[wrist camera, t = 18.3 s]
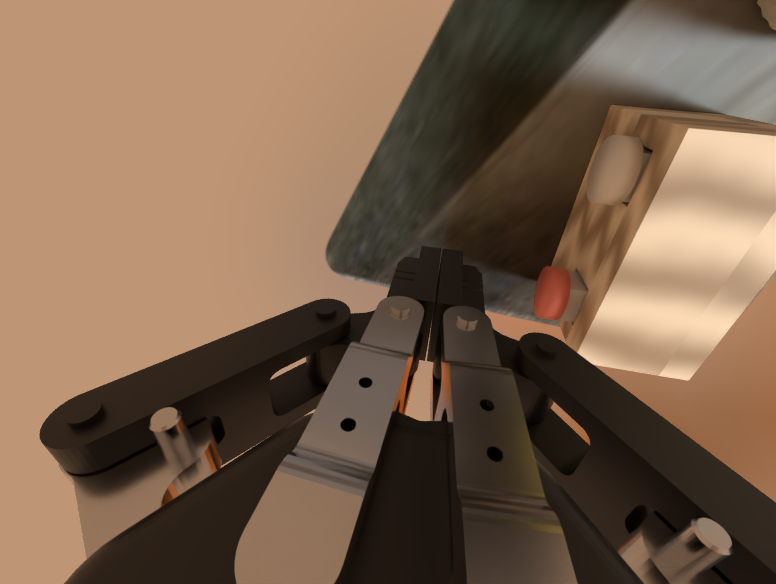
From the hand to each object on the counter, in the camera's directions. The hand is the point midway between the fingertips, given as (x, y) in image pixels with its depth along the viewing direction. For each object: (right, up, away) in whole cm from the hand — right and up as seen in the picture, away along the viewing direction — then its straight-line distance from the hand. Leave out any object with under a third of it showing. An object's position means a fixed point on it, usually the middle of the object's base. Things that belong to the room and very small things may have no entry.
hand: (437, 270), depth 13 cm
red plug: (+18, 0, +24) cm, 30 cm away
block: (+23, +8, +25) cm, 35 cm away
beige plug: (+20, +10, +17) cm, 28 cm away
